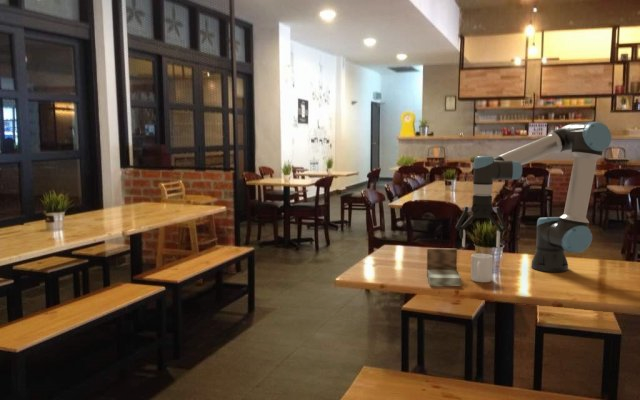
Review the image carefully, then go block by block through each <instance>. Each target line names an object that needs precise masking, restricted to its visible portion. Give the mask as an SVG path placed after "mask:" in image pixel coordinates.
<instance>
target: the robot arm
mask: <svg viewBox="0 0 640 400" xmlns="http://www.w3.org/2000/svg"><path fill="white" fill-rule="evenodd" d="M611 143H612V132H611V130H610V129H609V127H608V126H607V124H605V123H603V122H599V121H583V122H581V121H580V122H579V121H577V122H571V123H569V124H566V125H564V126H561V127H559V128H557V129H555V130H553V131H550V132H548V133H547V135H546V136H544V137H541V138H539V139H537V140H534V141H531V142H529V143H527V144H524V145H521V146H519V147H516V148H514V149H512V150H509V151H507V152H505V153H502V154H500V155H497V156H495V157H493V156H492V155H489V156H488V155H478V156H475V157H474V159H473V167H472V168H473V179H472V180H473V181H472V183H473V184H472V194H473V195H472V205H471V206H467V205H464V207H463V211H462V213H461V215H460V216H459V219H458V221H457V223H456V225H455V226H454V227H455V229H456V230H458V231H459V238H460V239H461V246H462V247H463V248H465V247H466V230H465V229H467V227H468V226H469V224H471V223H472V221H473V220H475V218H478V219H481V218H482V219H486V218H489V220H490V221H491V222H492V223H493V224H494V226H495V227H496V228H497V230H496V244H495V245H496V248H497V249H500V245H501V240H503V235H504V231H508V229H509V228H508V226H507V224H506V221H505V219H504V218H503V215H502V214H501V207H499V206H496V207H495V206H494V207H493V196H492V194H493V187H494V186H493V184H494V182H493V181H495V180H496V181H499V180H500V181H501V180H502V181H503V180H504V181H505V180H506V181H507V180H508V181H509V180H510V181H511V180H512V181H513V180H519V179H520V178H521V177H522V175H523V166H524V165H526V164H528V163H531V162H533V161H536V160H539V159H540V158H544V157H545V156H547V155H550V154H553V153H556V154H558V153H561V152H562V153H563V152H565V151H571V152H570V153H571V154H572V156H573V163H572V168H571V173H570V174H571V175H570V177H569V178H570V179H569V185H568V190H567V194H566V198H565V199H566V200H565V204H564V205H565V206H564V211H563V214H561V215H560V216H547V217H544V216H543V217H539V218H538V219H537V221H536V244H535V245H536V249H535V252H534V255H533V258H532V260H531V269H533V270H535V271H541V272H547V273H548V272H549V273H563V272H567V271H569V263H568V260H567V256H566V254H565V252H567V253H574V254H578V253H583V252H584V251H585V250H587V249H588V248H589V247H591V246H590V245H591V243H592V241H593V233H592V231H591V229H589V224H590V221H589V220H588V218H587V214H588V208H589V203H590V197H591V193H592V187H593V183H594V177H595V173H596V166H597V161H598V160H599V159H600V158H602V157H603V153H604V150H606V149H607V148H609V147H610V145H611ZM470 211H471V212H472V213H471V215H470V216H469V217H468V218H467V219H466V221H465V218H466V216H467V214H468V213H469V212H470ZM493 211H494V213H496V216H497V218H498V220H499V222H500V224H501V225H500V224H499V223H498V221H497V220H495V218H494V216H493V215H492V212H493ZM464 221H465V222H464ZM463 222H464V223H463Z"/></svg>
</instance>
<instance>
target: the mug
mask: <svg viewBox="0 0 640 400" xmlns="http://www.w3.org/2000/svg"><path fill="white" fill-rule="evenodd" d="M470 256H471V257H470V259H471V261H470V279H471V281H473V282H476V283H490V282H492V278H493V255H492V254H488V253H473V254H471V255H470Z"/></svg>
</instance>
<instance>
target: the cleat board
mask: <svg viewBox="0 0 640 400" xmlns="http://www.w3.org/2000/svg"><path fill="white" fill-rule="evenodd" d="M426 249H427V250H426V278H427V281H428V283H429V284H428V285H429V287H443V286H462V278H461V275H460V273H459V271H458V270H457V269H458V268H457V267H458V266H457V262H458V260H457V259H458V249H457V248H446V247H445V248H444V247H441V248H440V247H434V248H433V247H427V248H426Z"/></svg>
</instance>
